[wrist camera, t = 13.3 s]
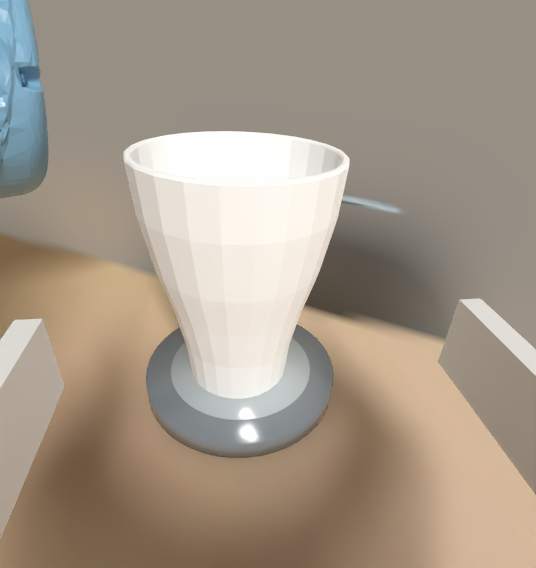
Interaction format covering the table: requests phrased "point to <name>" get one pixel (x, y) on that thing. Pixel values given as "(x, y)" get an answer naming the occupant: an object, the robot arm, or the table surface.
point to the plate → (240, 401)
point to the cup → (236, 243)
